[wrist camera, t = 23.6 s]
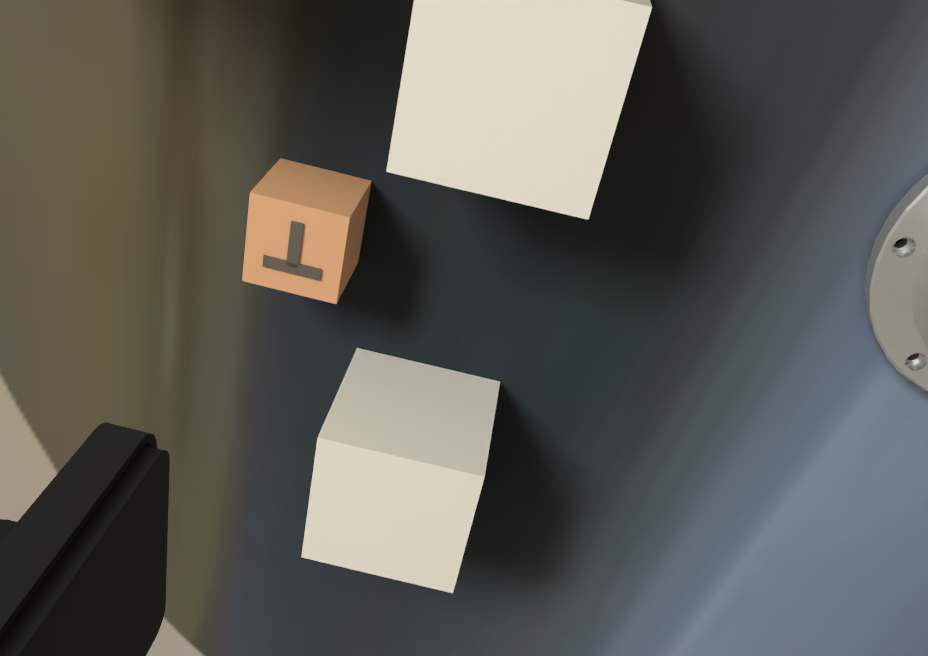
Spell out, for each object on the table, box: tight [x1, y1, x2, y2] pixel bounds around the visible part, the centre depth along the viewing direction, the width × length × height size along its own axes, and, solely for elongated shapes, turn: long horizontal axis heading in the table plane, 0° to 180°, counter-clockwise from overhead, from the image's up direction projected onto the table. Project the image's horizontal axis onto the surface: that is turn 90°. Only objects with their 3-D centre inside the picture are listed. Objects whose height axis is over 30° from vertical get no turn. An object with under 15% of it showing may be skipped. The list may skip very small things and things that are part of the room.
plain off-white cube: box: [301, 348, 500, 593], centre depth 41 cm, size 7×7×7 cm
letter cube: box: [242, 158, 372, 304], centre depth 37 cm, size 4×4×4 cm
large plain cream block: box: [386, 0, 652, 220], centre depth 31 cm, size 7×7×7 cm
